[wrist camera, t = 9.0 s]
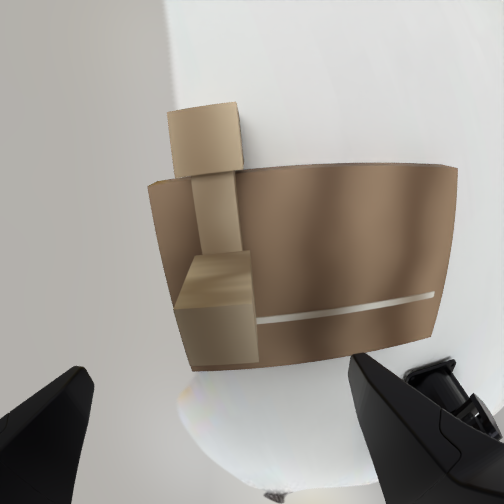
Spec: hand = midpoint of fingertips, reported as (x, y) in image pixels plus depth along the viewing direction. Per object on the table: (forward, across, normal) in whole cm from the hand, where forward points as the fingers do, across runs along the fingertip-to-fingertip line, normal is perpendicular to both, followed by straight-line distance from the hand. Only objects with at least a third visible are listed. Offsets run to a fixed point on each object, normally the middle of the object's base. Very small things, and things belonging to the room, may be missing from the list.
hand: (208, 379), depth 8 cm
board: (+12, -6, +2) cm, 13 cm away
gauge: (+9, 0, +4) cm, 10 cm away
